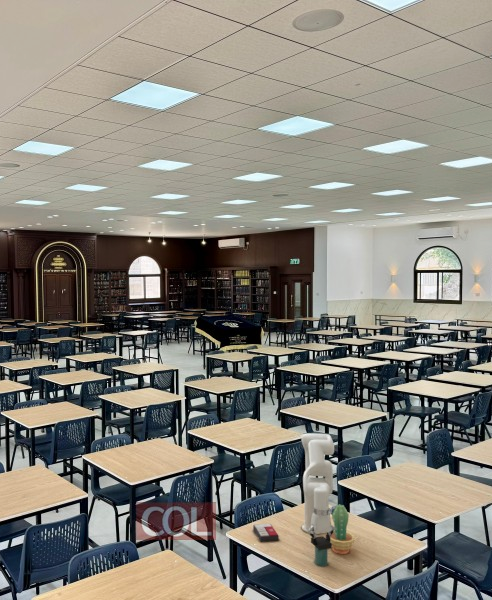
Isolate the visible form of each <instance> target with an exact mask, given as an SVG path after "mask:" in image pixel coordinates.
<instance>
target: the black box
mask: <svg viewBox="0 0 492 600" xmlns="http://www.w3.org/2000/svg"><path fill="white" fill-rule="evenodd" d="M316 539H317V543H316V546H314V548H315V547H316V548H318V549H319V550H324V549H328V550H330V549H331V550H332V549H333V547H332V543H331V542H329V541H328V540H327V539H326V536H325V537H324V536H316ZM310 543H311V544H312V545H313V543H312V537H310Z"/></svg>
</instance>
